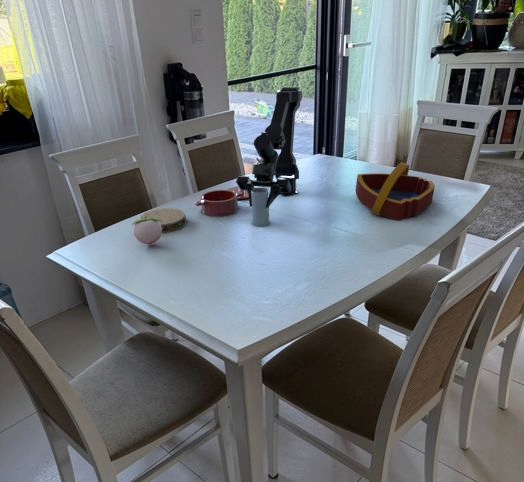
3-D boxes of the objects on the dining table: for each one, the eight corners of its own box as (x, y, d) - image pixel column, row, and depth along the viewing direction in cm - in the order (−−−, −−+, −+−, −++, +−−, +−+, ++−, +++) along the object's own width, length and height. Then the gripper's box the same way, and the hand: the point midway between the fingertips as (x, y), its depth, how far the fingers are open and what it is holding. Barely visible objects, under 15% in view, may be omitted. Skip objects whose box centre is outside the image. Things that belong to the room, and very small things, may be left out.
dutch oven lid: (217, 193, 202) (216, 179, 199) (248, 186, 208) (248, 173, 205) (233, 202, 192) (232, 189, 188) (265, 195, 197) (265, 181, 194)
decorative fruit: (140, 252, 156) (134, 223, 151) (133, 243, 162) (128, 215, 157) (168, 246, 159) (163, 217, 154) (160, 237, 166) (156, 209, 160)
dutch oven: (190, 209, 187) (188, 195, 184) (234, 199, 195) (233, 186, 192) (204, 220, 177) (203, 206, 174) (250, 209, 185) (249, 195, 182)
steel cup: (263, 219, 176) (262, 186, 169) (271, 224, 172) (270, 190, 165) (250, 222, 174) (248, 189, 167) (257, 227, 169) (256, 194, 163)
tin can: (195, 222, 176) (194, 214, 174) (159, 236, 166) (158, 228, 165) (167, 212, 185) (166, 205, 184) (132, 225, 176) (131, 217, 174)
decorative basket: (412, 231, 167) (425, 189, 158) (335, 206, 178) (343, 165, 169) (438, 201, 191) (451, 164, 182) (370, 181, 202) (378, 145, 193)
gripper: (235, 152, 166) (226, 194, 163) (288, 154, 160) (279, 198, 158) (245, 168, 176) (236, 208, 174) (295, 171, 171) (286, 212, 168)
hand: (258, 206), depth 168 cm, fingers closed on steel cup, 6 cm apart
